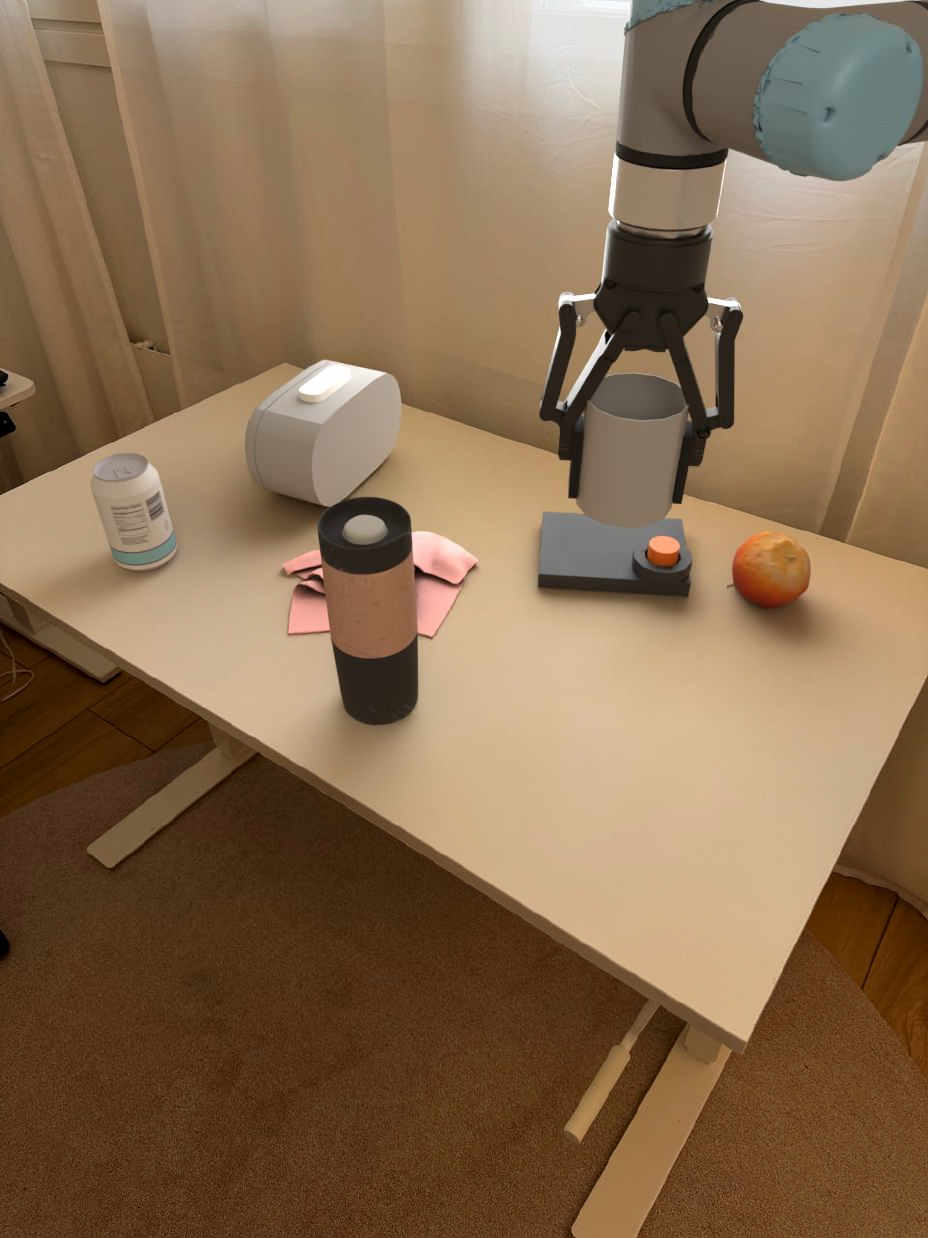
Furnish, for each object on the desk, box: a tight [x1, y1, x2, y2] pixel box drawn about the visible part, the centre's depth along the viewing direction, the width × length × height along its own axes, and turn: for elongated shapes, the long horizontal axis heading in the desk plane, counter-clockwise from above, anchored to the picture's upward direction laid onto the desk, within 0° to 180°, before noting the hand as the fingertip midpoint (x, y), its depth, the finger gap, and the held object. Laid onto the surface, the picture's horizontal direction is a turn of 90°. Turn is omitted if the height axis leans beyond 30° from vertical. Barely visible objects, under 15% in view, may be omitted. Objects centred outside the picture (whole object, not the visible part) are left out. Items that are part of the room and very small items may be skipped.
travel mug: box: [317, 496, 419, 726], centre depth 77 cm, size 8×8×20 cm
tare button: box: [647, 536, 680, 566], centre depth 94 cm, size 3×3×2 cm
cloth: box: [282, 530, 480, 638], centre depth 96 cm, size 20×22×2 cm
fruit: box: [726, 530, 812, 610], centre depth 93 cm, size 8×8×8 cm
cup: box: [575, 372, 690, 528], centre depth 75 cm, size 8×8×10 cm
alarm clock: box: [244, 359, 402, 508], centre depth 109 cm, size 21×10×13 cm, turn 154°
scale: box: [537, 511, 693, 598], centre depth 99 cm, size 16×13×4 cm
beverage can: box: [90, 452, 178, 572], centre depth 97 cm, size 7×7×12 cm
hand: (624, 492), depth 78 cm, fingers closed on cup, 8 cm apart
